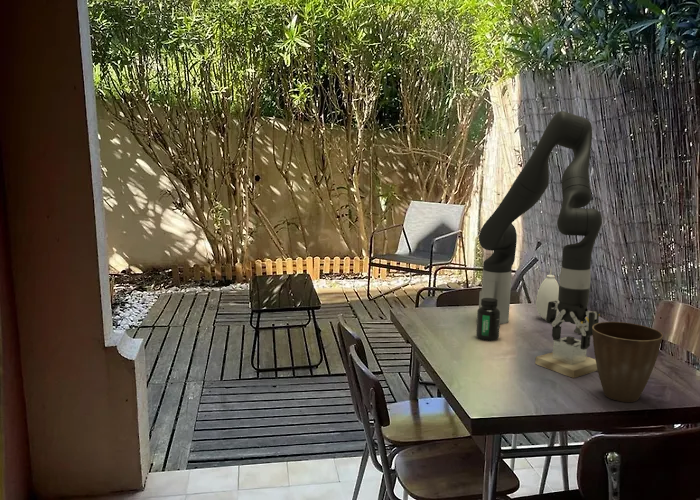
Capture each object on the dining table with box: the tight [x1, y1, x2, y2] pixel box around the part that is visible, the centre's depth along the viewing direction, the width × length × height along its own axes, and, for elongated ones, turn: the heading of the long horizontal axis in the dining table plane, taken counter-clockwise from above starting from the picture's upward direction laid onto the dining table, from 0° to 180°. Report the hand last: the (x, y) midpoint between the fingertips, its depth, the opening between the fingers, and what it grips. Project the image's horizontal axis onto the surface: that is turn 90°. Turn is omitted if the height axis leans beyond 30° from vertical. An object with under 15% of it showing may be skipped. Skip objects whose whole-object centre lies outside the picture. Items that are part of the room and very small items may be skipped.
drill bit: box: [573, 313, 601, 335], centre depth 191 cm, size 5×5×10 cm
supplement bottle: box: [475, 298, 501, 342], centre depth 185 cm, size 7×7×12 cm
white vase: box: [535, 268, 560, 321], centre depth 204 cm, size 8×8×18 cm
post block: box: [534, 336, 598, 379], centre depth 162 cm, size 12×12×8 cm
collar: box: [552, 336, 588, 365], centre depth 161 cm, size 6×6×5 cm
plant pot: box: [592, 321, 664, 403], centre depth 142 cm, size 15×15×16 cm
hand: (569, 344), depth 161 cm, fingers open, 8 cm apart
